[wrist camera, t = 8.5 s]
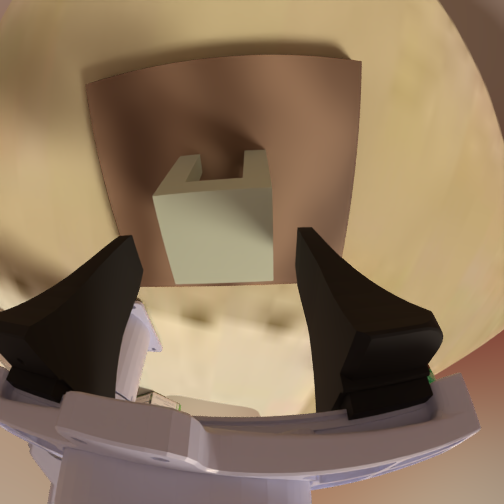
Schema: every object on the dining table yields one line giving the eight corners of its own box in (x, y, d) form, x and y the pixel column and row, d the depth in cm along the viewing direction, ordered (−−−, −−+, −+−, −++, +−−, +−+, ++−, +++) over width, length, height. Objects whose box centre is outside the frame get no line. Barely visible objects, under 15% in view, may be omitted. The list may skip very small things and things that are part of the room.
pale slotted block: (192, 227, 19) (175, 284, 14) (180, 156, 16) (152, 196, 11) (267, 223, 19) (273, 280, 14) (265, 149, 16) (272, 187, 11)
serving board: (143, 274, 23) (138, 286, 22) (97, 82, 14) (85, 84, 13) (333, 269, 23) (337, 281, 22) (352, 61, 13) (361, 61, 12)
